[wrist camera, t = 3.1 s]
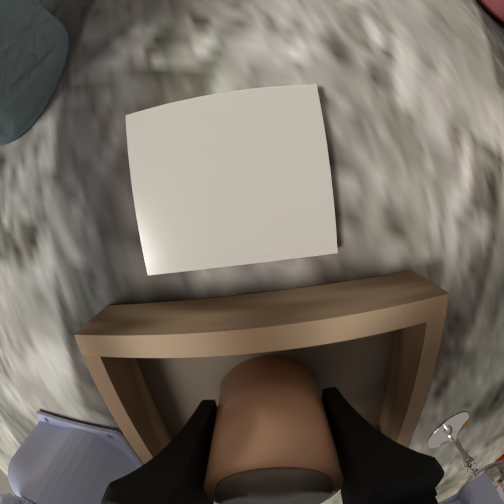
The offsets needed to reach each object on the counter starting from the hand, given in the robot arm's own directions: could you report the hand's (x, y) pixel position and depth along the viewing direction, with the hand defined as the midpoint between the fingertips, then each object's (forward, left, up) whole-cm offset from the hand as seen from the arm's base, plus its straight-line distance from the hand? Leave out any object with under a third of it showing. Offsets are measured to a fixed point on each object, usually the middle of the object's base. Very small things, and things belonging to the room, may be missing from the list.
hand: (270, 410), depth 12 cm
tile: (-1, +10, -2) cm, 11 cm away
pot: (0, 0, -1) cm, 1 cm away
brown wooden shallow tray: (0, 0, -2) cm, 2 cm away
